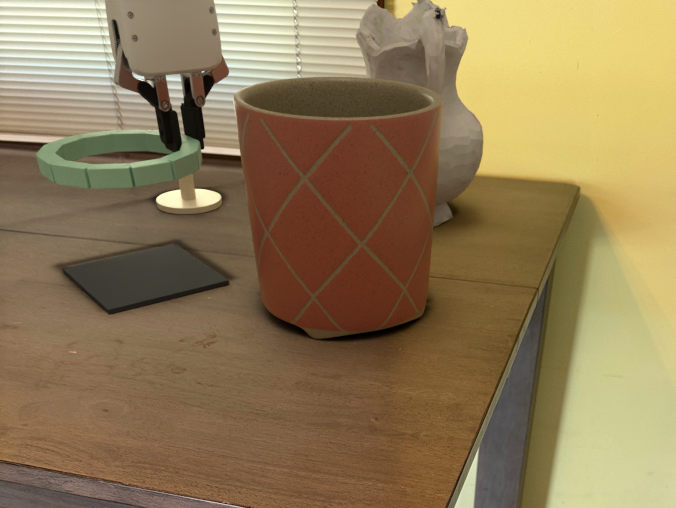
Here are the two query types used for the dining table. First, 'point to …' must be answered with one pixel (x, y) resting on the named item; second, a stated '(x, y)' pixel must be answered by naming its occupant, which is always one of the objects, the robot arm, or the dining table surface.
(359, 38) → the ceramic pitcher
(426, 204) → the planter
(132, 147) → the ring
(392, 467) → the dining table surface
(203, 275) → the mat
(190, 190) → the ring holder
